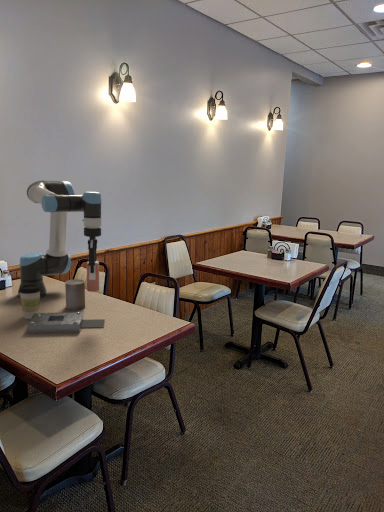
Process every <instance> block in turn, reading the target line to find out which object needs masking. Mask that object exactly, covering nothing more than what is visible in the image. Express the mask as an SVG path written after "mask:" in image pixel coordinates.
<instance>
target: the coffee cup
mask: <svg viewBox="0 0 384 512" xmlns="http://www.w3.org/2000/svg"><path fill="white" fill-rule="evenodd" d="M18 290H19V292H20V296H21V297H19V298H20V304H21V309H22V310H21V311H22V313H23V318H24V319H25V320H30V319H31V318H32V316H33V315H34V313H37V312H39V310H40V300H41V299H40V298H41V297H40V291H41V288H40V287H39V285H35V284H28V285H23V286H21V287H20V289H19V288H18Z"/></svg>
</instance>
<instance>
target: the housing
mask: <svg viewBox="0 0 384 512" xmlns="http://www.w3.org/2000/svg"><path fill="white" fill-rule="evenodd" d="M83 320H84V312H83V311H82V312H81V311H76V312H39V311H38V312H37V313H34V315H33V316H32V318H31V319H29V321H28V322H27V323H26V333H27V335H30V334H73V333H74V334H75V333H76V334H77V333H81V330H82V328H81V326H82V322H83Z"/></svg>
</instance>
